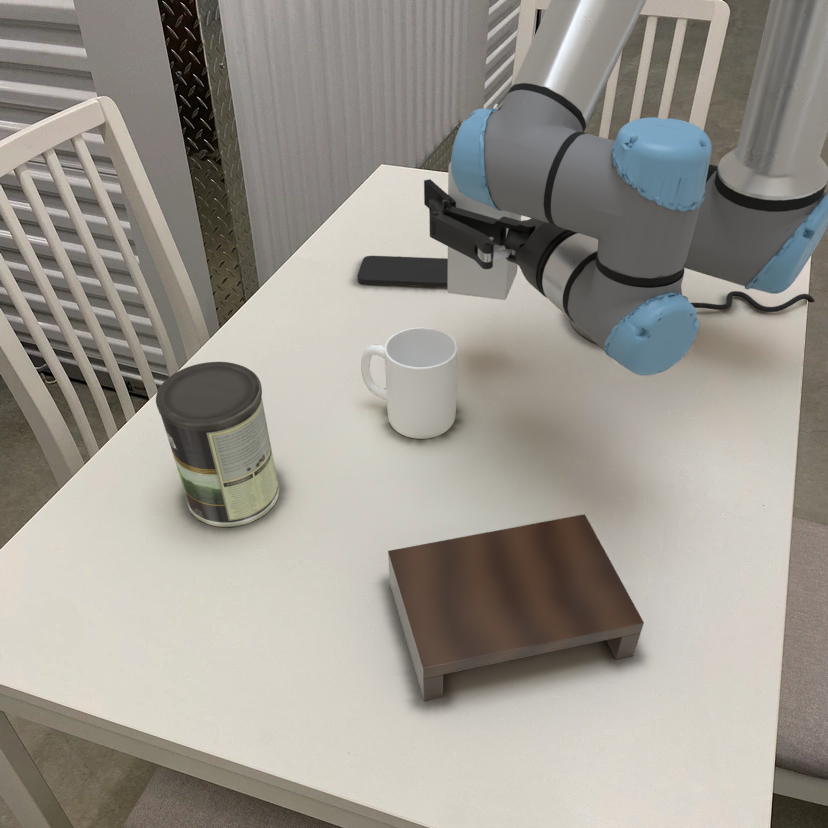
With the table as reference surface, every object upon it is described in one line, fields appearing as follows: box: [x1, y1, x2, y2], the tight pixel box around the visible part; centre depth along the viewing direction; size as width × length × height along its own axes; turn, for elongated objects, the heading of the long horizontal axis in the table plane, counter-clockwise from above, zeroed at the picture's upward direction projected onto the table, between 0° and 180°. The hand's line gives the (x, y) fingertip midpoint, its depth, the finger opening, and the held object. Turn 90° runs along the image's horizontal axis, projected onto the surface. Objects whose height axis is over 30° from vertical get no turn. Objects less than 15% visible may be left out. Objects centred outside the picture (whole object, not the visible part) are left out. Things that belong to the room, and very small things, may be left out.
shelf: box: [387, 513, 645, 701], centre depth 77 cm, size 20×14×5 cm
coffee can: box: [155, 361, 280, 528], centre depth 86 cm, size 10×10×14 cm
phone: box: [356, 255, 448, 288], centre depth 123 cm, size 7×1×15 cm
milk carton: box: [447, 103, 522, 301], centre depth 92 cm, size 7×7×19 cm
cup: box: [360, 326, 459, 440], centre depth 96 cm, size 8×12×10 cm
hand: (468, 182), depth 94 cm, fingers closed on milk carton, 10 cm apart
